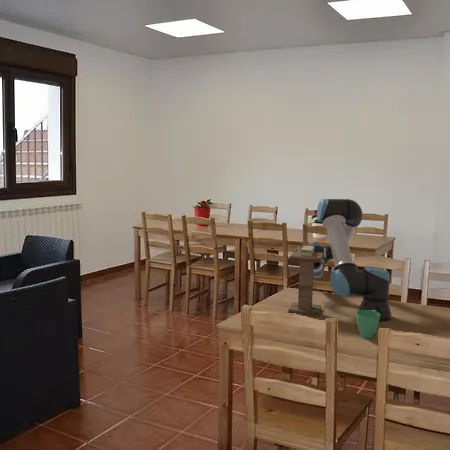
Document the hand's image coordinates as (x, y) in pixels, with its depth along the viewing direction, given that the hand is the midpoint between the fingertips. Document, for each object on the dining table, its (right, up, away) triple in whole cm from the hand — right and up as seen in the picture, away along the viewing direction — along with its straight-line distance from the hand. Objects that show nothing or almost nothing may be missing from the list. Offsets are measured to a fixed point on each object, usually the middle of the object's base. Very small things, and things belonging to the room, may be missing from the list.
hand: (311, 249), depth 280 cm
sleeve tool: (-3, -1, -11) cm, 12 cm away
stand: (-5, -30, -15) cm, 33 cm away
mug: (+17, -34, -48) cm, 61 cm away
